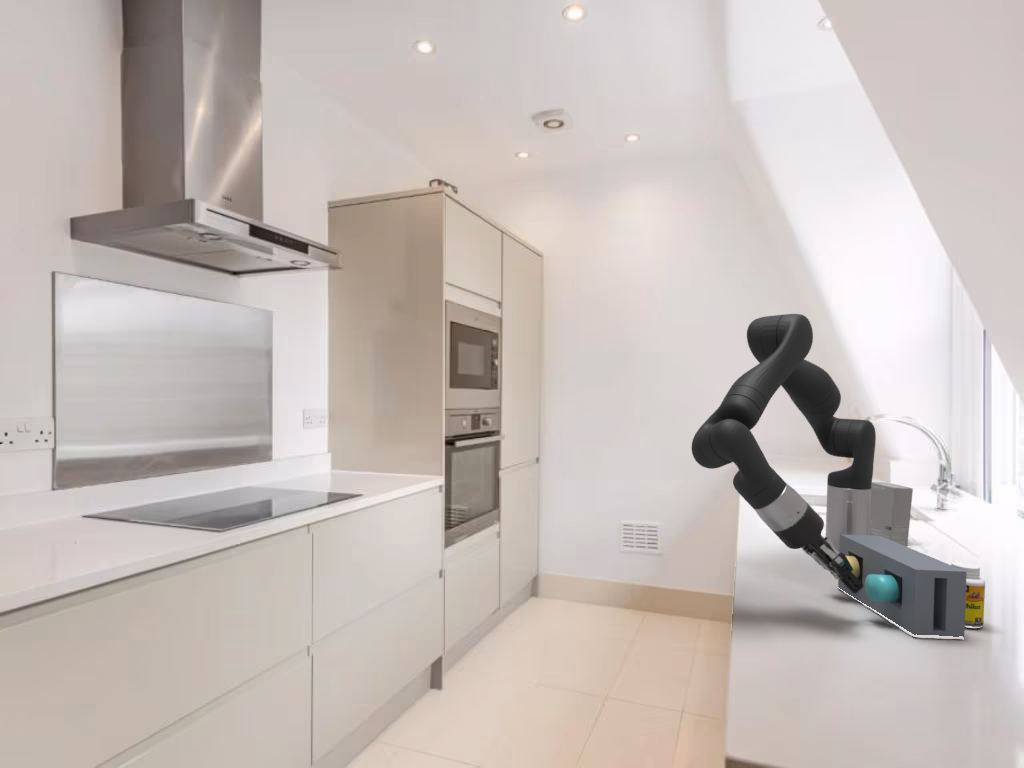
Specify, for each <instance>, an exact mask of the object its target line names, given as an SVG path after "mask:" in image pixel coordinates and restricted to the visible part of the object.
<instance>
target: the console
mask: <svg viewBox="0 0 1024 768" xmlns="http://www.w3.org/2000/svg"><path fill="white" fill-rule="evenodd" d="M840 552H841V553H843V554H845V555H846V556H854V557H855V558H856V559H857V561H858V563H859V567H860V574H859V577H858V579H859V580H860V581H861V583H862V584H863V588H862V589H861V590H859V591H858V592H857V593H853V592H851V591H850V590H848V589H847V587H846V586H845V585H844V584H843V583H842V582H841V581H840V580H838V579H837V588H838V587H839V588H840V589H842V590H843V591H845V592H846V593H848V594H849V595H851V596H853V597H854V598H856V599H857V600H859V601H861V602H862V603H864V604H866V605H867V606H869V607H871V608H872V609H874V610H876V611H877V612H879V613H881V614H882V615H884V616H885V617H887V618H888V619H890V620H892V621H893V622H895V623H896V624H898V625H899V626H901V627H903V628H904V629H906V630H907V631H909V632H911V633H912V634H914V635H916V634H917V635H939V636H953V637H959V636H963V637H964V638H965V633H966V632H965V631H966V630H965V629H966V628H965V602H966V571H964V570H961V569H959V568H956V567H954V566H952V565H951V564H950V563H947V562H944V561H942V560H939V559H936V558H934V557H932V556H930V555H927V554H925V553H923V552H920V551H918V550H916V549H913V548H911V547H908V546H903V545H901V544H899V543H896V542H894V541H891V540H889V539H887V538H884V537H882V536H871V535H846V534H840V544H839V553H840ZM869 574H875V575H891V576H893V577H894V578H895V580H896V582H897V584H898V588H899V596H898V599H897V600H896V601H895V602H875V601H871V600H870V599H869V598H868V596H867V593H866V590H865V579H866V577H867V576H868V575H869Z"/></svg>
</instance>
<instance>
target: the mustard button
mask: <svg viewBox="0 0 1024 768" xmlns="http://www.w3.org/2000/svg"><path fill="white" fill-rule="evenodd" d="M846 557H847V559H848V561H849V563H850V564H851V566H852V568H853V570H852V571H851V572H852V573H853V574H854V575H855V576H856V577H857V578H858V577H859V574H860V567H859V563H858V561H857V559H856V558H855V557H854V556H846ZM832 577H833V578H834V579H836V580H837V581H838V580H839V579H838V578H837V577H836V576H834V575H832Z"/></svg>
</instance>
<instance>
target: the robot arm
mask: <svg viewBox="0 0 1024 768" xmlns="http://www.w3.org/2000/svg"><path fill="white" fill-rule="evenodd" d="M746 340H747V345H748V348H749V350H750V353H752V355H753V357H754V358H755V360H757V362H758V364H757V365H755V366H754V367H751V369H749V370H747V371H746V372H745V373H743V374H742V375H740V376H739V377H738V378H737V379H736V380H735V381H734V382H733V384H731V387H730V388H729V389H728V391H727V393H726V395H725V396H724V397H723V400H722V401H721V403H720V405H719V407H717V409H715V410H714V411H713V413H712V414H711V415H710V416H709V417H708V418H707V419H706V420H705V421H704V423H703V424H701V426H700V427H699V428H698V430H697V431H696V432H695V434H694V436H693V438H692V442H691V454H692V457H693V459H694V460H695V462H696V463H697V464H698V465H700V466H701V467H702V468H706V469H712V470H713V469H718V468H721V467H722V468H723V467H724V466H726V465H729V464H732V463H734V464H735V466H736V467H737V468H738V471H737V472H736V473H735V474H734V476H733V480H732V485H733V488H734V489H735V490H736V492H737V493H738V494H739V495H740V496H741V497H742V498H743V499H744V501H746V502H747V503H748V505H749V506H750V507H751V508H752V509H753V510H754V511H755V512H756V514H757V516H758V517H759V518H760V519H761V520H762V522H764V523H765V525H766V526H767V527H768V528H769V529H770V530H771V531H772V532H773V533H774V535H776V536H777V537H778V539H779V540H780V541H782V543H783V544H784V545H785V546H786V547H787V548H788V549H792V550H798V549H802V551H803V552H804V553H805V554H806V555H808V556H810V557H811V558H812V559H813V560H814V561H815V562H816V563H817V565H819V566H821V567H822V568H823V569H824V570H826V571H829V574H831V576H833V575H834V576H836V577H837V578H838V579H839V580H840V581H841V582H842V583H843V584H844V585H845V586H846V587H847V589H848V590H850V591H851V592H853V593H857V592H858V591H859V590H861V589H862V588H863V584H862V583H861V581H860V580H859V579H858V578H857V577H856V576H855V575H854V574H853V573H852V572H851V571H852V570H853V568H852V566H851V564H850V563H849V561H848V559H847V557H846V555H845V554H843V553H841V552H840V553H839V544H840V534H846V535H871V532H872V521H871V520H870V517H871V486H872V482H873V475H874V463H875V461H874V460H875V451H876V440H877V436H876V428H875V425H874V424H873V422H872V421H870V420H867V419H856V418H839V417H836V416H835V415H836V412H837V411H838V409H839V407H840V405H841V401H842V395H841V392H840V389H839V388H838V386H837V384H836V382H835V381H834V380H833V378H832V377H831V375H830V374H829V373H828V372H827V371H826V370H825V369H824V368H822V367H820V366H818V365H817V364H815V363H813V362H810V361H809V360H807V359H806V357H807V356H808V354H809V353H810V351H811V349H812V346H813V343H814V342H813V341H814V332H813V327H812V324H811V321H810V320H809V319H808V317H807V316H805V314H800V313H786V314H784V313H783V314H776V315H768V316H761V317H758V318H756V319H754V320H752V321H751V322H750V324H749V325H748V326H747V330H746ZM780 387H782V388H783V390H784V391H785V392H786V393H787V395H788V396H789V398H790V400H791V401H792V402H793V404H794V405H795V406H796V408H797V409H798V411H800V413H801V414H802V415H803V417H804V418H805V419H806V420H807V422H808V424H809V425H810V427H811V428H812V430H813V433H814V434H815V435H816V439H817V440H818V442H819V445H820V446H821V447H822V449H823V450H824V451H825V452H826V453H827V454H828V455H830V456H834V457H836V458H837V457H839V458H849V459H853V460H852V464H851V465H850V466H848V467H847V468H844V469H841V470H834V471H831V472H830V473H828V474H827V480H826V481H827V482H826V483H827V485H826V487H827V488H826V513H825V515H826V517H825V522H824V519H823V518H822V517H821V516H820V514H819V513H817V512H816V511H815V510H814V508H813V507H812V506H811V505H810V504H809V503H808V501H806V500H805V499H804V498H803V496H801V495H800V493H798V492H797V490H795V488H793V487H792V486H790V485H789V484H788V483H787V482H786V481H785V480H784V479H783V478H782V477H781V476H780V474H778V473H777V471H776V470H775V469H774V468H773V467H771V466H770V464H769V462H768V460H767V458H766V457H765V455H764V452H763V450H762V449H761V447H760V445H759V444H758V441H757V439H756V437H755V436H754V434H753V432H752V431H751V430H752V429H753V428H755V427H756V425H757V424H758V422H759V421H760V419H761V417H762V415H763V414H764V411H765V409H766V408H767V406H768V405H769V403H770V401H771V399H772V397H773V396H774V395H775V393H776V392H777V391H778V389H779V388H780ZM824 527H825V537H824V536H823V535H822V531H823V530H824ZM834 576H833V577H834ZM838 579H837V580H838Z"/></svg>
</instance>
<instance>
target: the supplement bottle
mask: <svg viewBox="0 0 1024 768" xmlns="http://www.w3.org/2000/svg"><path fill="white" fill-rule="evenodd" d="M950 565H952V566H954V567H956V568H959V569H961V570H964V571H966V602H965V626H972V627H981V626H984V621H985V620H984V619H985V618H984V617H985V597H986V581H985V580H984V578H982V577H981V576H980V575H981V572H980V570H981V569H980V566H978V565H977V564H973V563H969V562H963V561H962V562H961V561H952V562H951V564H950Z"/></svg>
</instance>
